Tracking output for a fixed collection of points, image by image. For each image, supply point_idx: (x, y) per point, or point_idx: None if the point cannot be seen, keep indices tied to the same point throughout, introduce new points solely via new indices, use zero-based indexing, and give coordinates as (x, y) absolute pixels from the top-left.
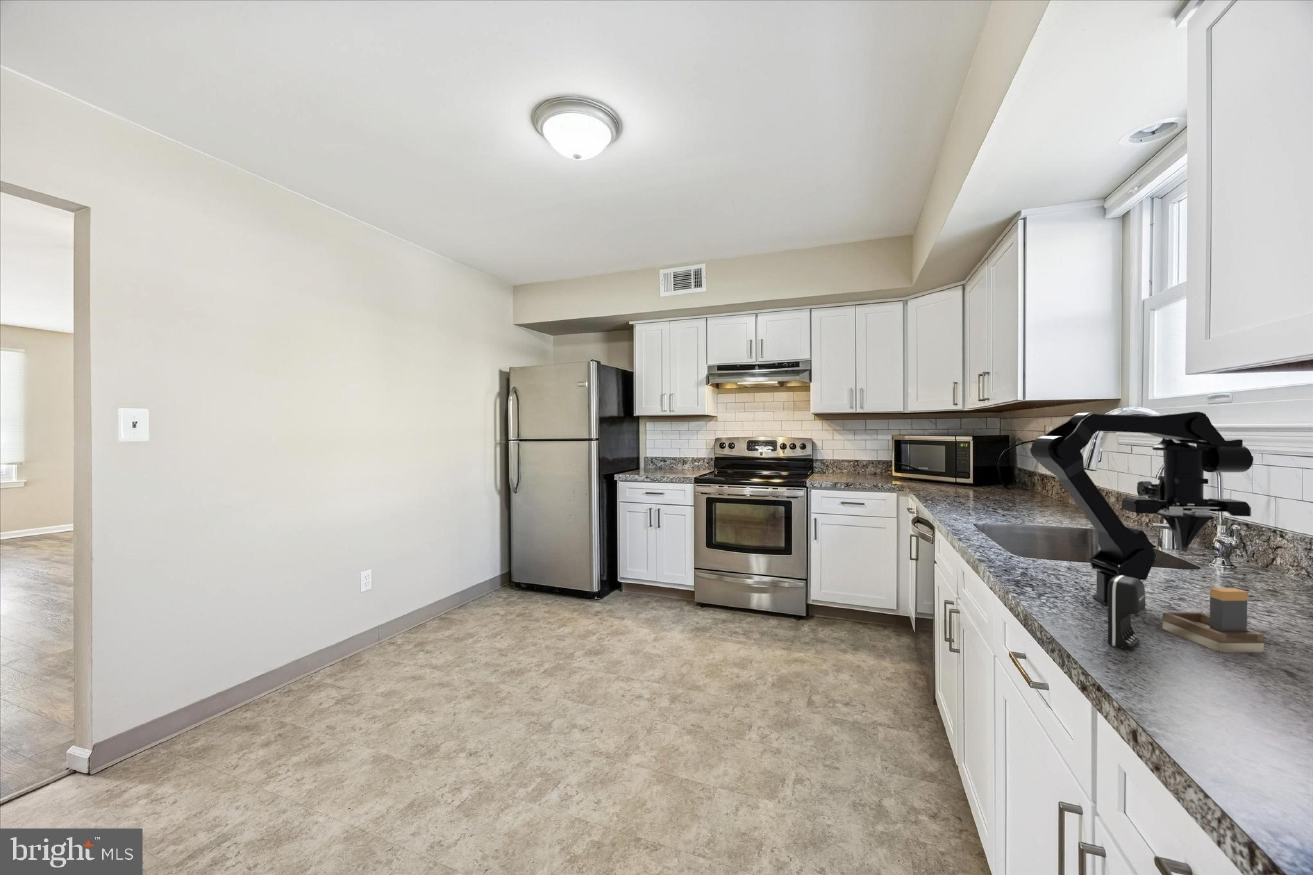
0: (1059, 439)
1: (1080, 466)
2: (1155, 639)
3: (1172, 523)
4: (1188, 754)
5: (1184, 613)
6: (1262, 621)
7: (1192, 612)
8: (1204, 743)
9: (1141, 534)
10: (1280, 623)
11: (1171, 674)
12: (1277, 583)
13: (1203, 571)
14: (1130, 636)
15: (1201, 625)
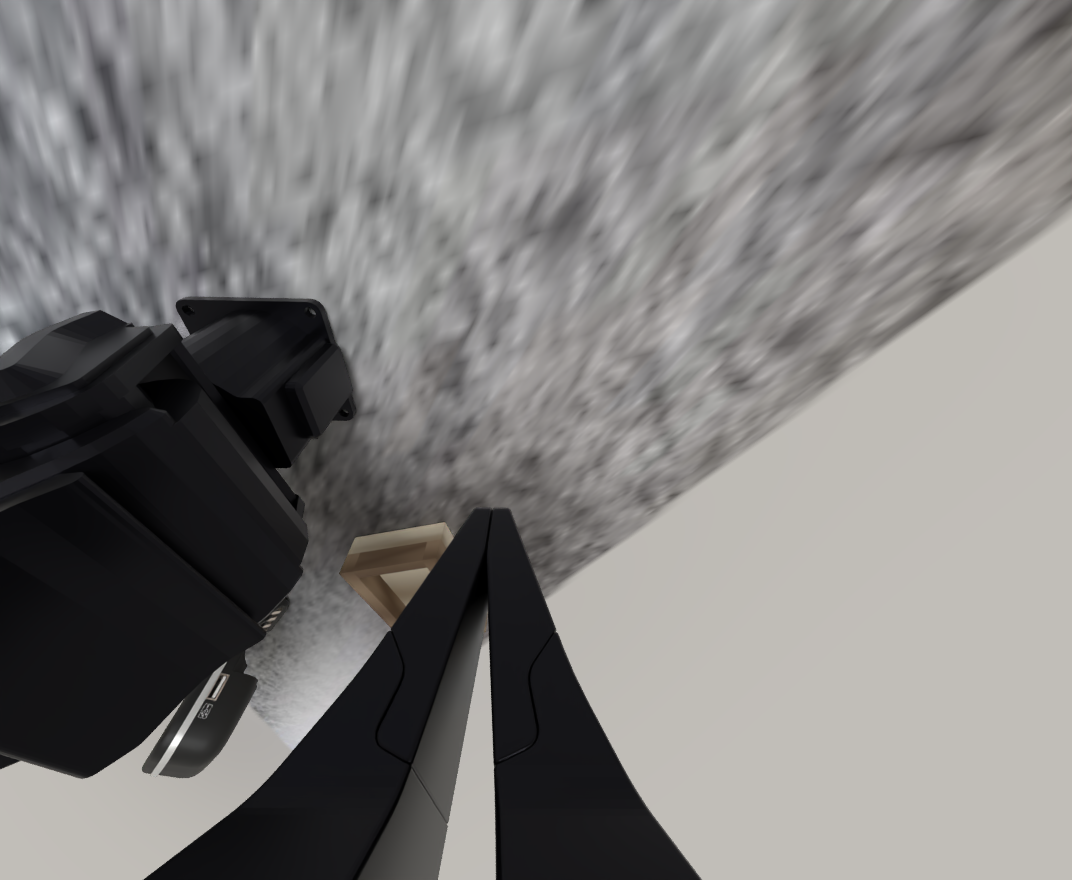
0: None
1: None
2: (323, 583)
3: (354, 763)
4: (289, 733)
5: (389, 571)
6: (655, 444)
7: (412, 562)
8: (305, 726)
9: (111, 738)
10: (692, 449)
11: (312, 662)
12: None
13: None
14: (264, 625)
15: (392, 618)
